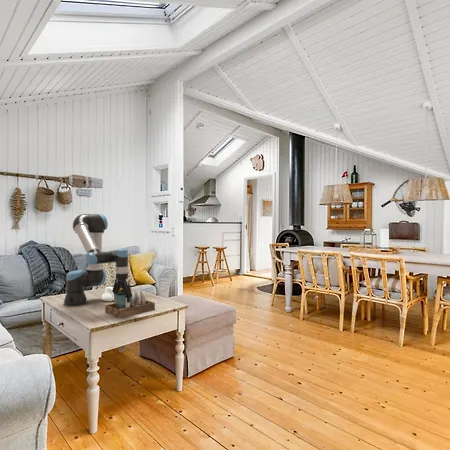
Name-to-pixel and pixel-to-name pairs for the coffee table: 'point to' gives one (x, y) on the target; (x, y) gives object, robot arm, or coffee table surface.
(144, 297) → the tray
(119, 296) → the flower pot
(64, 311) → the coffee table surface
